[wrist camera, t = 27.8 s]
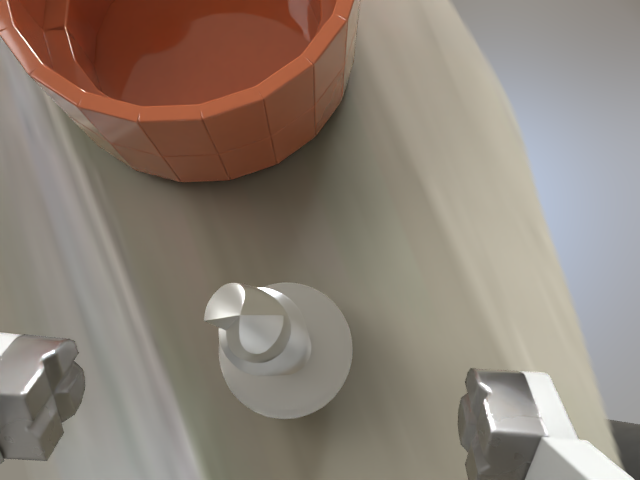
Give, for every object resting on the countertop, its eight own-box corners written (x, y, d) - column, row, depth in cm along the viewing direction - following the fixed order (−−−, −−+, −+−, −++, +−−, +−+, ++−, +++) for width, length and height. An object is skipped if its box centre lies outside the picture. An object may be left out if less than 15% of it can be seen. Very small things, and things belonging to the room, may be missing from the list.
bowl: (296, -92, 26) (289, -225, 20) (395, 130, 23) (420, 47, 17) (41, -16, 25) (-44, -134, 19) (108, 228, 22) (32, 176, 16)
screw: (354, 409, 20) (230, 418, 20) (344, 286, 21) (227, 294, 21) (411, 470, 7) (75, 495, 7) (379, 160, 9) (90, 179, 9)
